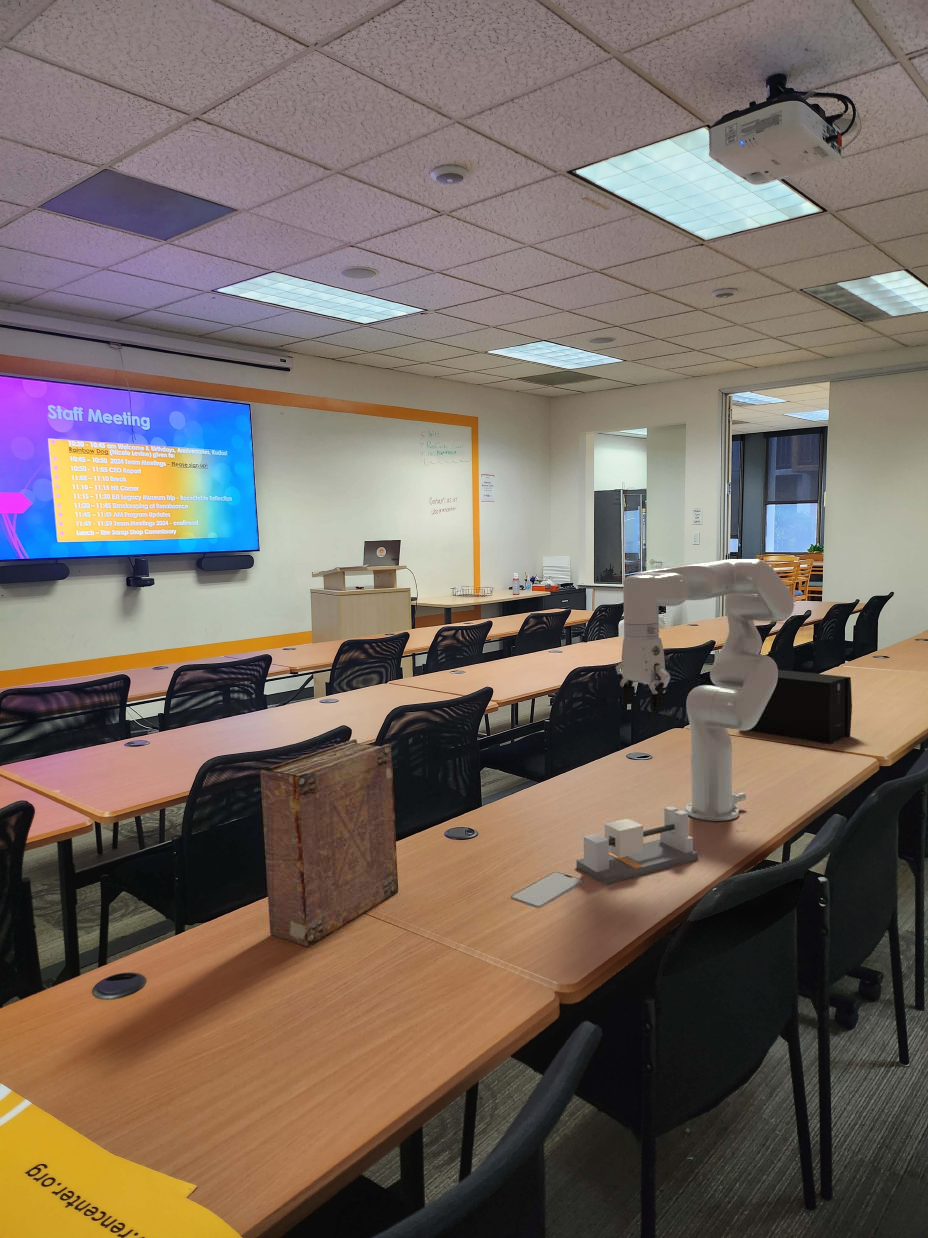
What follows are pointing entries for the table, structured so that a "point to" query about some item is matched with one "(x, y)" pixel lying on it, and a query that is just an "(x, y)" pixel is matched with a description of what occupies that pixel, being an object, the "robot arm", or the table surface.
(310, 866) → the book
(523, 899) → the smartphone
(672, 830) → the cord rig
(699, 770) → the robot arm
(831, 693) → the uninterruptible power supply
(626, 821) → the notched cream block
